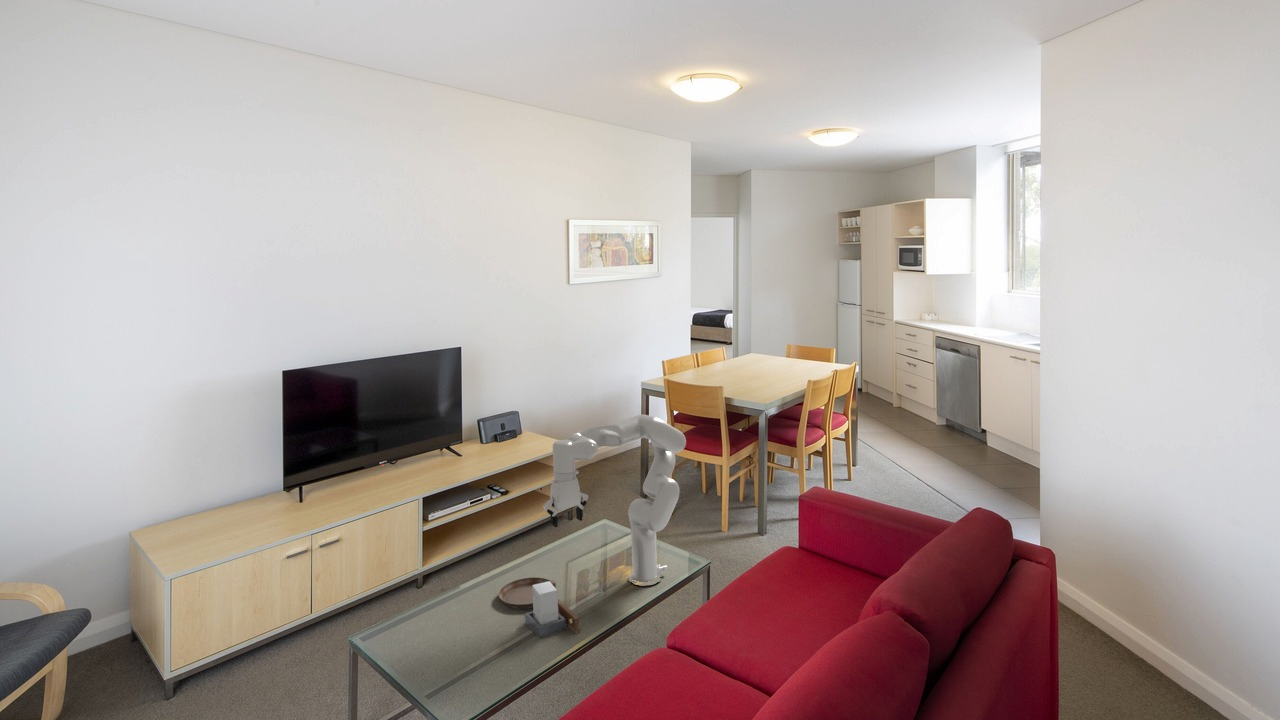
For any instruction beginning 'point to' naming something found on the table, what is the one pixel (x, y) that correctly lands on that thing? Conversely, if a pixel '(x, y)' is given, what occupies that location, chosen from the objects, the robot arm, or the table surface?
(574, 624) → the brown l-shaped wood piece
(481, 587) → the table surface
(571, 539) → the table surface
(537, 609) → the small box
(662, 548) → the table surface
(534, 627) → the gray square tray
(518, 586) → the plant saucer
